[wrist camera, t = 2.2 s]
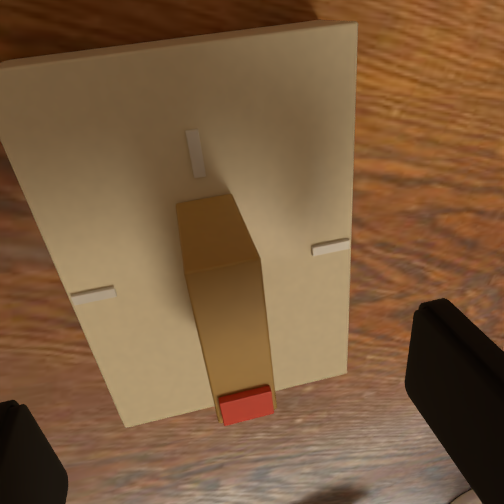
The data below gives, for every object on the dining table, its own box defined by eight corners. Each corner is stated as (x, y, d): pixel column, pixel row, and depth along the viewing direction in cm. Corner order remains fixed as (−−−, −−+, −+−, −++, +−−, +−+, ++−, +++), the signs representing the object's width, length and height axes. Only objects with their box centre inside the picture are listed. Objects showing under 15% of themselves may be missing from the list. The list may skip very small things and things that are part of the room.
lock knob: (175, 202, 12) (184, 279, 9) (232, 192, 13) (263, 262, 9) (204, 334, 15) (220, 432, 12) (250, 324, 16) (279, 416, 12)
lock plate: (6, 59, 12) (-34, 73, 10) (320, 19, 14) (361, 21, 11) (128, 375, 20) (124, 432, 17) (323, 330, 21) (349, 376, 18)
